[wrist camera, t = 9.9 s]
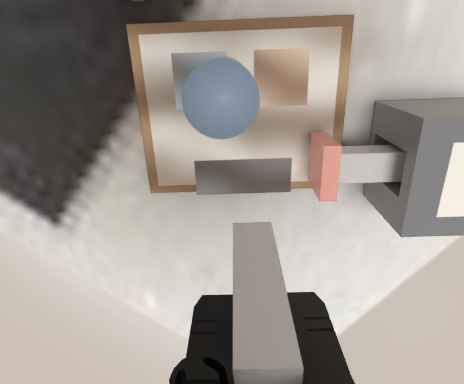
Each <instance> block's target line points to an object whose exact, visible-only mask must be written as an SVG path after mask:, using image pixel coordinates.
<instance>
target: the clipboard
mask: <svg viewBox="0 0 464 384" xmlns="http://www.w3.org/2000/svg"><path fill="white" fill-rule="evenodd" d="M353 22H354V15H336V16H312V17H288V18H264V19H240V20H216V21H192V22H168V23H144V24H126V28H127V34H128V41H129V48H130V55H131V62H132V68H133V75H134V82H135V89H136V96H137V102H138V109H139V116H140V123H141V129H142V136H143V143H144V150H145V157H146V163H147V170H148V177H149V184H150V191H151V193H165V192H197V195H200V194H233V193H265V192H291V189H295V188H312V187H311V185H310V183H309V182H308V173H309V156H310V140H311V132H327V133H328V134H329V135H331V136H332V137H333V138H334V139H335V140H336V141H337V142H338V143H340V144H342V134H343V124H344V114H345V103H346V93H347V83H348V73H349V63H350V53H351V43H352V32H353ZM220 57H231V58H234V59H236V60H238V61H239V62H240V63H242V65H243V66H244V67H246V68H247V70H248V71H249V72H250V73H251V75H252V76H253V78H254V79H255V81H256V83H257V86H258V89H259V94H260V105H259V110H258V113H257V116H256V118H255V120H254V121H253V123H252V124H251V125H250V127H249V128H248V129H247V130H246V131H244V132H243V133H241V134H240V135H238V136H235V137H233V138H229V139H214V138H210V137H207V136H205V135H203V134H201V133H200V132H198V131H197V130H196V129H195V128H194V127H193V126H192V125H191V124H190V123H189V121H188V120H187V118H186V116H185V113H184V110H183V106H182V91H183V86H184V84H185V81H186V79H187V77H188V76H189V75H190V73H191V72H192V71H193V70H194V69H195V68H196V67H197V66H199V65H200V64H202V63H204V62H206V61H209V60H211V59H215V58H220Z"/></svg>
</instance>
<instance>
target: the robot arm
mask: <svg viewBox="0 0 464 384" xmlns="http://www.w3.org/2000/svg"><path fill="white" fill-rule="evenodd" d="M169 383H170V384H355V383H354V381H353V379H352V377H351V374H350V372H349V369H348V366H347V363H346V361H345V358H344V355H343V352H342V350H341V347H340V344H339V342H338V339H337V336H336V333H335V331H334V328H333V325H332V322H331V320H330V318H329V314H328V311H327V309H326V306H325V303H324V302H323V301H322V300H321V299H320V298H319V297H318V296H317V295H316V294H315V293H314V292H291V293H287V292H286V287H285V283H284V278H283V274H282V269H281V265H280V260H279V256H278V251H277V247H276V243H275V238H274V234H273V229H272V225H271V222H261V223H233V295H202V297H201V298H200V299H199V301H198V302H197V304H196V305H195V306H194V311H193V317H192V323H191V330H190V336H189V342H188V349H187V355H186V358H185V359H183V360H181V361H180V363H179V364H178V365H177V366H176V367H175V368H174V369H173V372H172V374H171V376H170V379H169Z"/></svg>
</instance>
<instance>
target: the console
mask: <svg viewBox="0 0 464 384" xmlns="http://www.w3.org/2000/svg"><path fill="white" fill-rule="evenodd" d="M369 145H395V146H397V147H399V148H401V149H402V150H404V151H406V152H407V154H406V160H405V165H404V171H403V176H402V182H374V183H364V189H363V195H364V196H365V197H366V198H367V199H368V201H369V202H370V203H371V204H372V205H373V206H374V207H375V208H376V210H377V211H378V212H379V213H380V214H381V215H382V216H383V217H384V219H385V220H386V221H387V222H388V223H389V224H390V225H391V226H392V227H393V229H394V230H395V231H396V232H397V233H398V234H399V235H400V236H401V237H418V236H454V235H464V98H439V99H412V100H384V101H375V107H374V114H373V122H372V129H371V137H370V144H369Z"/></svg>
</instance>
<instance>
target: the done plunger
mask: <svg viewBox="0 0 464 384" xmlns="http://www.w3.org/2000/svg"><path fill="white" fill-rule="evenodd" d="M406 154H407V152H406V151H404V150H402V149H401V148H399V147H397V146H395V145H368V146H342V145H341V144H340V143H338V142H337V141H336V140H335V139H334V138H333V137H332V136H331V135H329V134H328V133H327V132H311V140H310V156H309V173H308V182H309V183H310V185H311V187H312V189H313V190H314V192H315V194H316V196H317V197H318V199H319V201H337V193H338V184H342V183H374V182H402V176H403V171H404V165H405V160H406Z"/></svg>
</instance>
